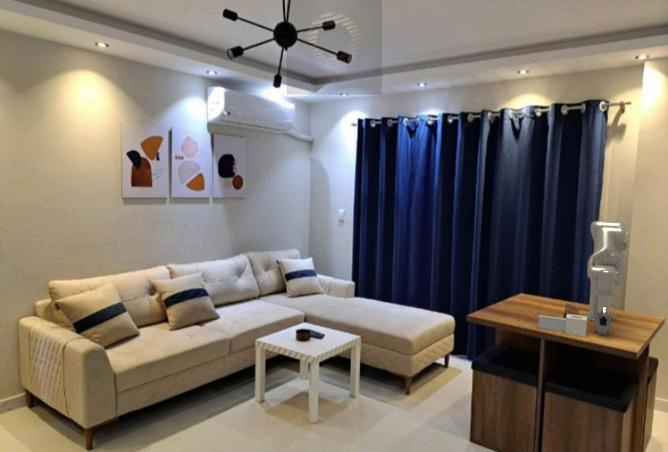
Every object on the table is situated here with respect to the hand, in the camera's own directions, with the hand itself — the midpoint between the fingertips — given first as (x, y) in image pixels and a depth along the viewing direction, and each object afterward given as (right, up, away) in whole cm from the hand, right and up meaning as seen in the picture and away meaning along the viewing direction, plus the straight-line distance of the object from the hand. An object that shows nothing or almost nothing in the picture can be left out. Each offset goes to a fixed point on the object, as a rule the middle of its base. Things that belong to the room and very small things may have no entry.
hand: (602, 323), depth 262 cm
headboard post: (-20, -5, +5) cm, 22 cm away
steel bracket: (0, -6, +1) cm, 6 cm away
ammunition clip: (-8, -4, +20) cm, 22 cm away
